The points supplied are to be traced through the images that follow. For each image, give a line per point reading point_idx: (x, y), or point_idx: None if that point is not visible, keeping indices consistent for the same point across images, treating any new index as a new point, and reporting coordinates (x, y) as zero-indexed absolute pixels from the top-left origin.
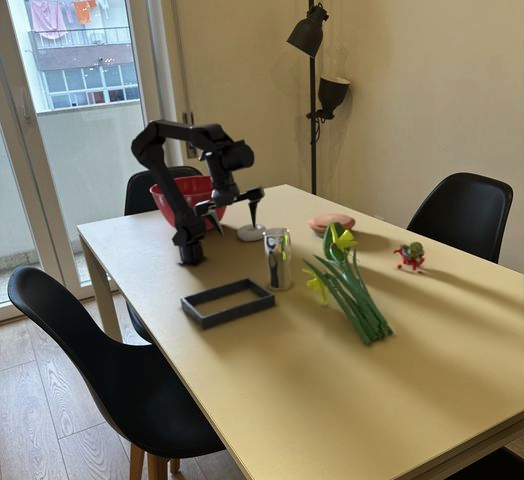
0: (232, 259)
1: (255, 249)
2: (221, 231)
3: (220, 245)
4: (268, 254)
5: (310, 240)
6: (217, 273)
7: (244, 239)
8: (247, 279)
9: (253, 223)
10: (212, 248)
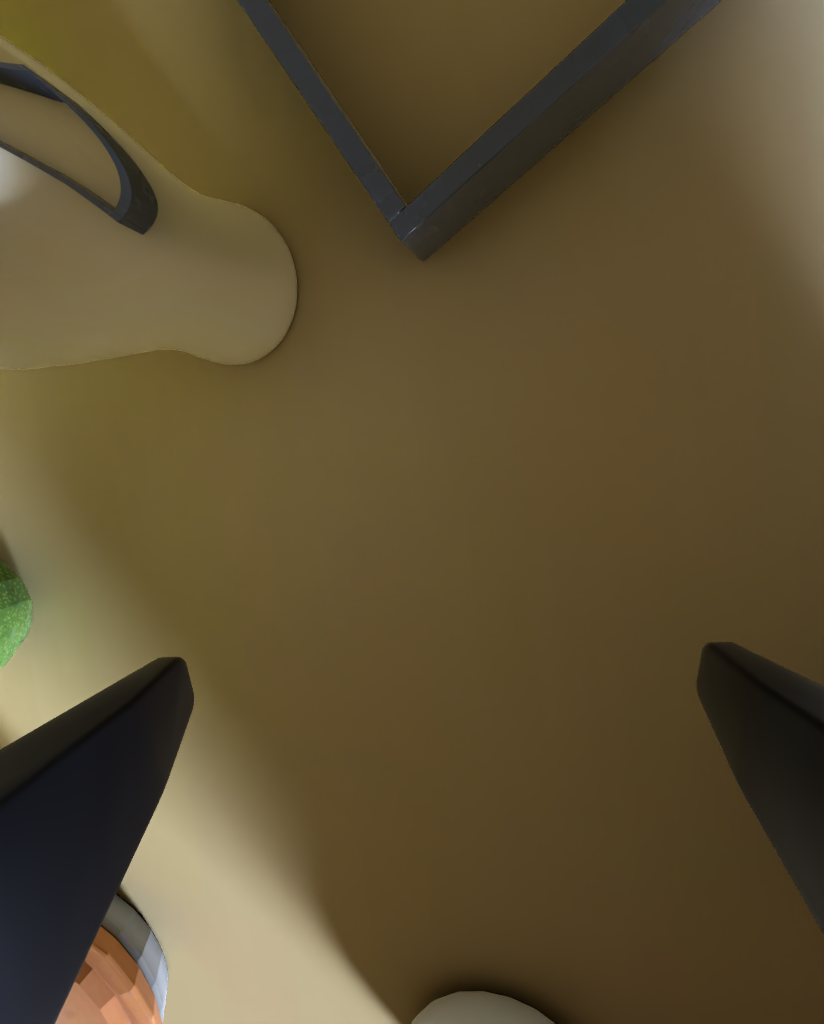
0: (604, 755)
1: (459, 868)
2: (755, 696)
3: (722, 1007)
4: (23, 53)
5: (175, 890)
6: (706, 530)
7: (544, 1019)
8: (409, 207)
9: (123, 694)
10: (786, 980)
